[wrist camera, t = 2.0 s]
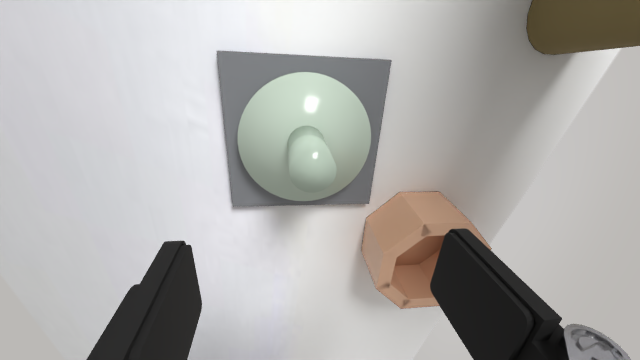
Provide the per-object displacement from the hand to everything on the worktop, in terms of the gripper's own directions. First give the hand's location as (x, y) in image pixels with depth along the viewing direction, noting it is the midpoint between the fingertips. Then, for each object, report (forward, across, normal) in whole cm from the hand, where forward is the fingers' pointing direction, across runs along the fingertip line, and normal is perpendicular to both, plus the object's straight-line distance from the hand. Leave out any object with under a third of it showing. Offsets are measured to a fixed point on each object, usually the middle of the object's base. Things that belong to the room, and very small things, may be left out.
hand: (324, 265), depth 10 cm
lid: (+13, 0, -1) cm, 13 cm away
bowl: (+14, -12, +9) cm, 20 cm away
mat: (+14, 0, -1) cm, 14 cm away
